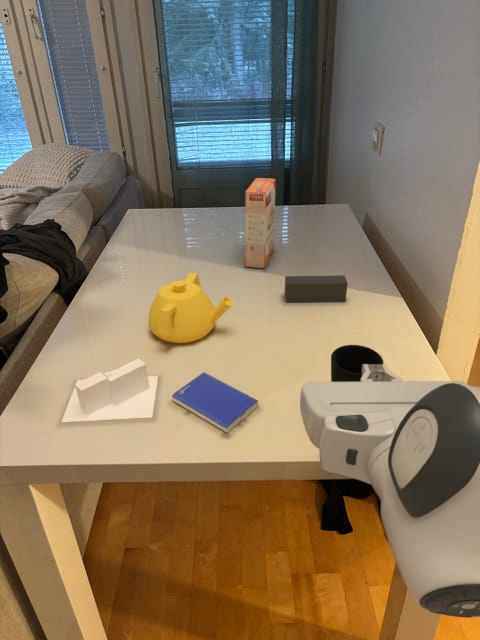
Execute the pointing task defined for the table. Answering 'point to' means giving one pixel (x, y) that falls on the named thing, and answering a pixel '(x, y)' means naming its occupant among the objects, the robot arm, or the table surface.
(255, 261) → the cracker box
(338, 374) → the cup
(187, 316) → the teapot
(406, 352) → the table surface
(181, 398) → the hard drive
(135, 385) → the napkin holder
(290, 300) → the stop block
